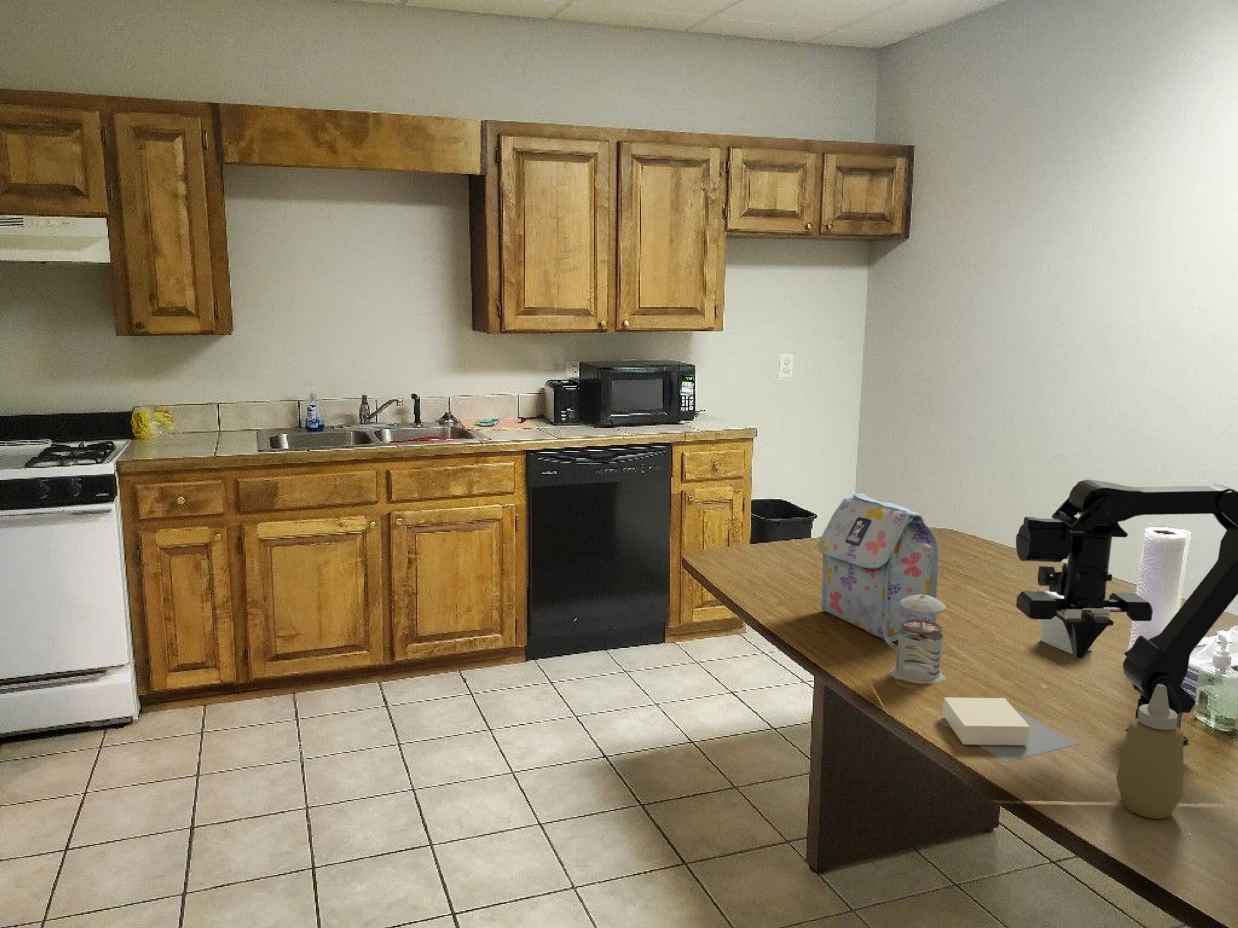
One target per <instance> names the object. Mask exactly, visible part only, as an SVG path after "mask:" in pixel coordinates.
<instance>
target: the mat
mask: <svg viewBox="0 0 1238 928" xmlns="http://www.w3.org/2000/svg"><path fill="white" fill-rule="evenodd" d="M1014 709H1015V710H1016V711H1017V712H1018V714H1019V715H1020V716H1021V717H1022V718H1023V719H1024V720H1025V722H1026V723H1027V724H1028V725H1029V726H1030V731H1029V742H1028V745H1022V746H1009V745H977V746H978V747H980V748H981V749H983V750H984V751H987V752H988V753H990V754H992V755H993V756H995V758H998V759H1000V760H1001V761H1002V762H1004V763H1007V762H1012V761H1016V760H1020V759H1024V758H1028V757H1032V756H1036V755H1041V754H1044V753H1049V752H1052V751H1056V750H1061V749H1063V748H1064V749H1065V748H1069V747H1073V746H1076V745H1079V744H1080V743H1078V742H1076V741H1075V740H1073V739H1071V738H1070V737H1068V736H1065V735H1063V734H1062V733H1060V732H1058V731H1056V730H1055V729H1053V728H1050V726H1048V725H1045V724H1043V723H1042V722H1040V721H1038V720H1036V719H1034V718H1032V717H1030V716H1029V715H1026V714H1024V713H1023V712H1021V711H1020V710H1017V709H1016V708H1014ZM935 720H936V721H938V722H939V723H941V724H943V725H944V726H946V727H947V728H949V729H951V730H952V731H953V729H952V728H951V726H950V725H949V723H948V722H947V721H946V719H945V718H944V717H941V718H940V717H939V718H936V719H935Z"/></svg>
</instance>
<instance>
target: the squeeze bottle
mask: <svg viewBox="0 0 1238 928" xmlns="http://www.w3.org/2000/svg"><path fill="white" fill-rule="evenodd" d="M1177 719H1178V714H1177V713H1176V712H1175V711H1173V710H1171V709H1169V703H1168V696H1167V688H1166V686H1165V685H1161V684H1157V685H1156V687H1155V690H1154V692H1153V695H1152V697H1151V700H1150V702H1149V704H1145V705H1142V706H1140V707H1139V711H1138V718H1137V719H1135V718H1134V719H1133V720H1131V721H1129V724H1128V731H1126V736H1125V740H1124V745H1123V748H1122V753H1121V757H1120V762H1119V765H1118V769H1117V772H1116V773H1117V774H1116V784H1117V786H1118V790H1119V794H1120V798H1121V802H1122V804H1123V805H1124V807H1125V808H1126V809H1127V810H1128V811H1130V812H1132V813H1134V814H1136V815H1138V816H1140V817H1145V818H1148V819H1157V820H1161V819H1167V818H1169V817H1170V816H1171V815H1172V813H1173V812H1174V811H1175V809H1176V808H1177V805H1178V804H1179V803H1180V800H1181V798H1182V797H1183V795H1184V743H1183V736H1184V733H1183V732H1182V731H1181V728H1180V729H1179V728H1178V727H1177Z"/></svg>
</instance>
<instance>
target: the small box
mask: <svg viewBox="0 0 1238 928" xmlns="http://www.w3.org/2000/svg"><path fill="white" fill-rule="evenodd" d="M1043 592H1044V593H1046V594H1047V595H1048V596H1050V597H1051V598H1052V599H1064V596H1060V595H1058V594H1057V592H1049V590H1047V591H1043ZM1039 640H1040V641H1041V642H1043V643H1045V644H1048V645H1049V646H1051V647H1054V648H1056V649H1059V650H1061V651H1064V652H1066V653H1068V654H1070V655H1073V651H1072V648H1071V644H1070V640H1069V637H1068V633H1067V630H1066V628H1065V625H1064V623H1063V621H1062V620H1060V619H1059V618H1058V617H1057V616H1055V617H1053V618H1052V619H1051V620H1048V619H1041V626H1040V639H1039ZM1091 650H1093V644H1092V645H1091V646H1090V648H1089V649H1088V651H1091ZM1088 651H1087V652H1088Z"/></svg>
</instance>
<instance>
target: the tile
mask: <svg viewBox="0 0 1238 928" xmlns="http://www.w3.org/2000/svg"><path fill="white" fill-rule="evenodd" d="M1015 709H1016V708H1014V706H1012V705H1011V703H1010V702H1009V701H1008V699H1006V698H1005V697H1004V698H1003V697H1002V698H1001V697H998V698H997V697H952V696H951V697H948V696H947V697H943V705H942V716H943V718H945V719H946V721H947V722H948V723H949V725H950V726H951V728H952V729H953V730H952V729H951V728H950V729H951V730H952V731H953V732H954V733H955V735H956V736H957V738H958V739H959V740H960V742H961V744H962V745H965V746H966V745H967V746H978V745H1009V746H1022V745H1028V742H1029V731H1030V726H1029V725H1028V724H1027V723H1026V722H1025V720H1024V719H1023V718H1022V717H1021V716H1020V715H1019V714H1018V712H1017V711H1016V710H1017V709H1016V710H1015Z"/></svg>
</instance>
